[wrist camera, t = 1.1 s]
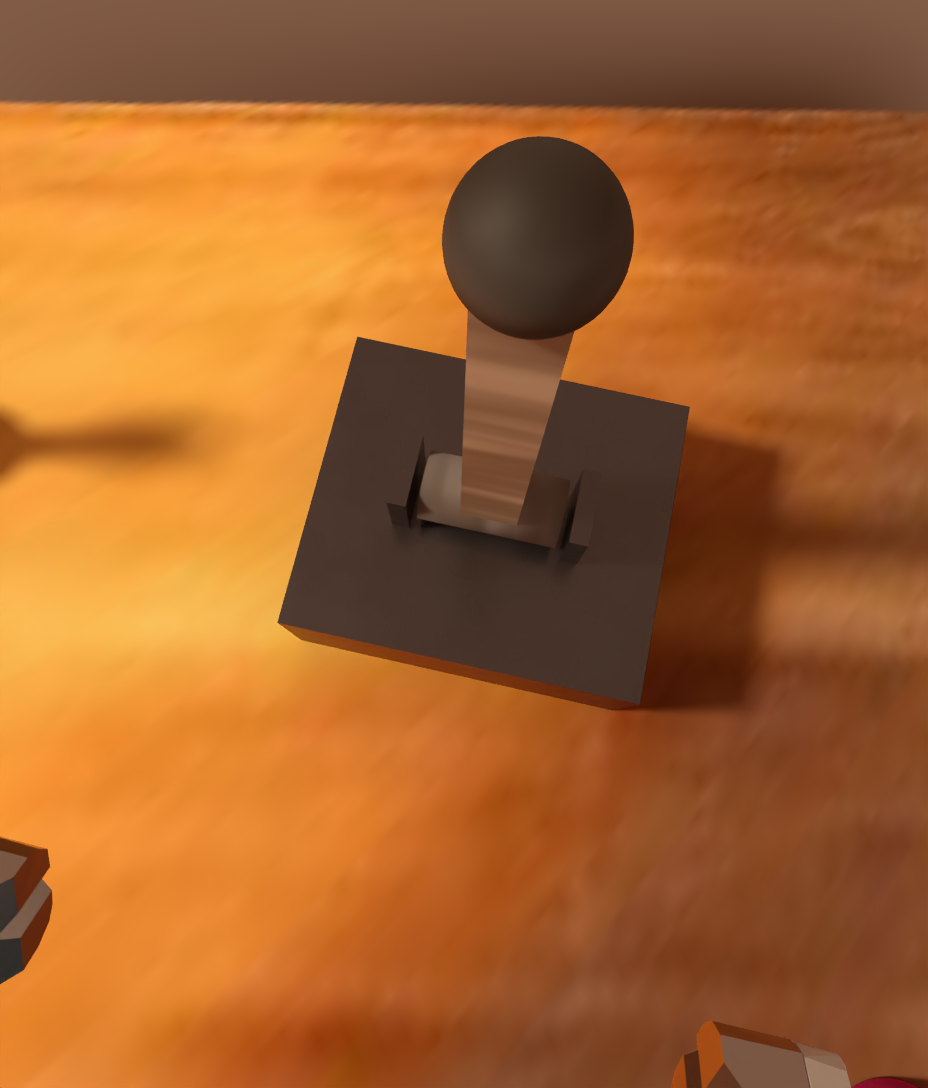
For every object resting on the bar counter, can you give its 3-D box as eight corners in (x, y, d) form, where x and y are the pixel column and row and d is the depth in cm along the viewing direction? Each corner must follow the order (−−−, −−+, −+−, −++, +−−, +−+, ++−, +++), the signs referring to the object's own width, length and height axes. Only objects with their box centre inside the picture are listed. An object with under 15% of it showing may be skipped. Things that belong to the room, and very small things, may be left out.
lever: (548, 566, 36) (689, 305, 15) (415, 536, 36) (365, 238, 15) (565, 481, 37) (721, 121, 16) (436, 453, 37) (416, 61, 16)
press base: (612, 710, 41) (659, 700, 32) (301, 640, 41) (259, 609, 32) (658, 451, 44) (712, 375, 35) (369, 390, 45) (348, 298, 36)
